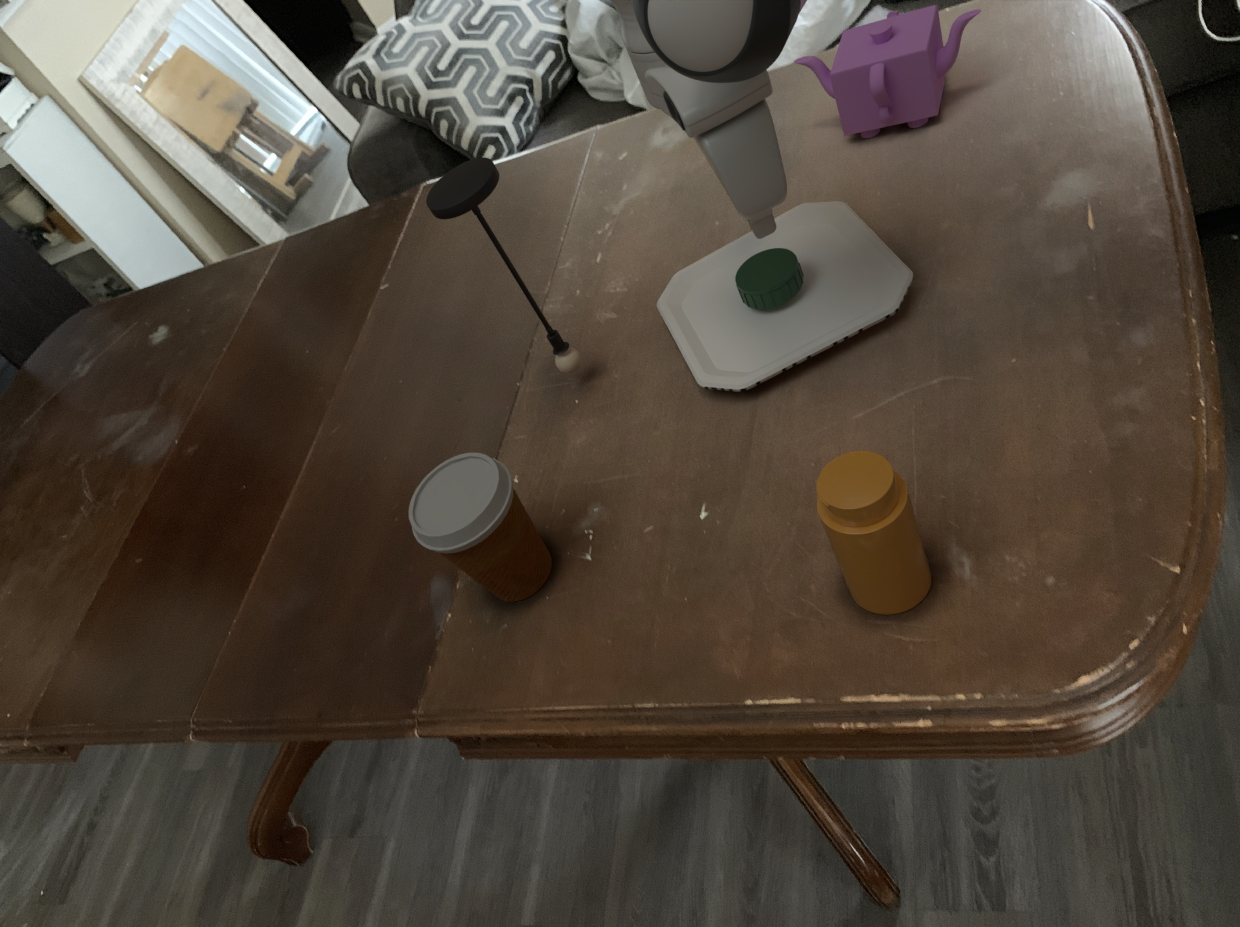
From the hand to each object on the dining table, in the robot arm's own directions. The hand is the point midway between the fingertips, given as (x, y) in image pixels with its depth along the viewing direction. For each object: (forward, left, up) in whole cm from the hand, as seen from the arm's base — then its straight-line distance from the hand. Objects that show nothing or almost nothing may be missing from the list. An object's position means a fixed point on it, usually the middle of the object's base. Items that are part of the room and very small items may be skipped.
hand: (747, 204), depth 76 cm
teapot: (-26, -16, -13) cm, 33 cm away
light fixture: (+19, -11, -13) cm, 25 cm away
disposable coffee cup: (+35, +6, -13) cm, 38 cm away
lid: (0, -2, -9) cm, 9 cm away
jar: (+13, +29, -13) cm, 35 cm away
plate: (0, -2, -13) cm, 13 cm away
